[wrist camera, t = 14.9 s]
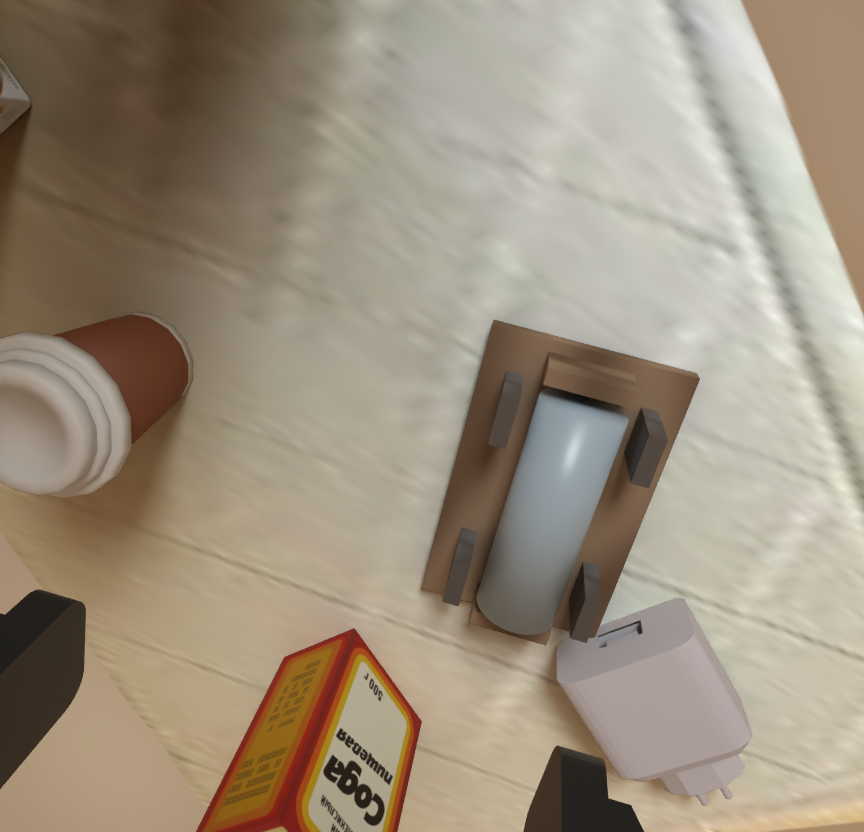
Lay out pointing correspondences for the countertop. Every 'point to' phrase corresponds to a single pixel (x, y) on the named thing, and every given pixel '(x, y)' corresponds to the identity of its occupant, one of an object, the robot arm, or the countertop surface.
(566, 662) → the charger
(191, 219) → the countertop surface
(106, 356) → the coffee cup
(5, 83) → the coffee box
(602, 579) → the walnut holder
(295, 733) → the baking soda box
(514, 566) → the cylinder
